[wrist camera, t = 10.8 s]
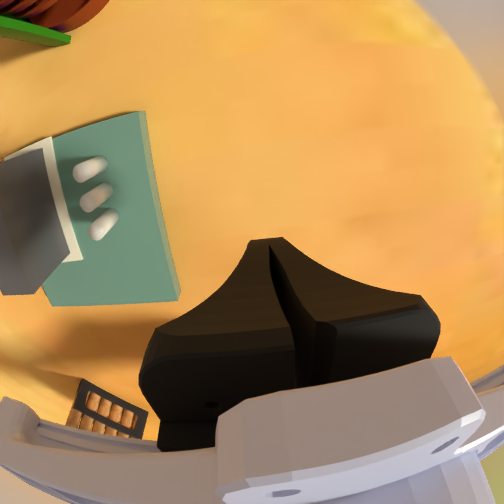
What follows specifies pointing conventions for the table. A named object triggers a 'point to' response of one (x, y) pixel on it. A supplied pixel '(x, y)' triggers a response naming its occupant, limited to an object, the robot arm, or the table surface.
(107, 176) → the header board
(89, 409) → the ammunition clip
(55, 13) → the green and brown cylinder
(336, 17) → the table surface
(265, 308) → the robot arm
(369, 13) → the table surface
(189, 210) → the table surface
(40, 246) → the block
